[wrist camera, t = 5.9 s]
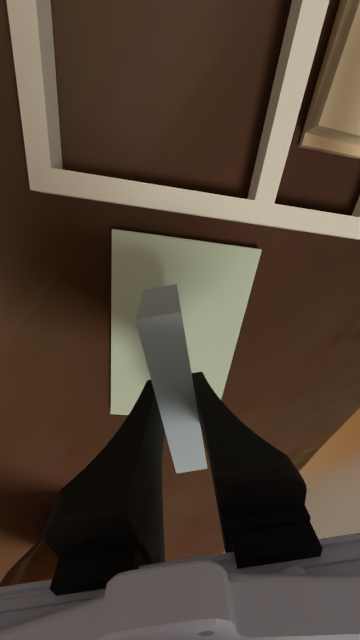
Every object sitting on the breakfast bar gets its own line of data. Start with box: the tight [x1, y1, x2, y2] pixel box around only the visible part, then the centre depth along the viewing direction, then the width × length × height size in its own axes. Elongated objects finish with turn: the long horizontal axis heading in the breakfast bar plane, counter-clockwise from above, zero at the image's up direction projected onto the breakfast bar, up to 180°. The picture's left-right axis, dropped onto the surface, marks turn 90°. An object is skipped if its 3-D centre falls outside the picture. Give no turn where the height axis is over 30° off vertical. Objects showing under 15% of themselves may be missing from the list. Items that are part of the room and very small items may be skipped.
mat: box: [111, 229, 262, 415], centre depth 18 cm, size 10×16×1 cm, turn 172°
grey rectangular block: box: [135, 284, 207, 473], centre depth 14 cm, size 2×11×4 cm, turn 9°
